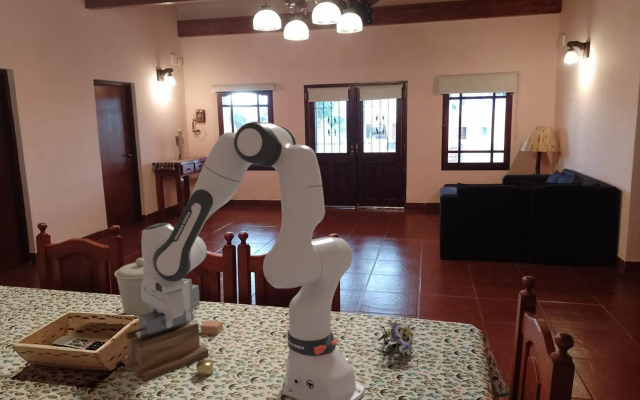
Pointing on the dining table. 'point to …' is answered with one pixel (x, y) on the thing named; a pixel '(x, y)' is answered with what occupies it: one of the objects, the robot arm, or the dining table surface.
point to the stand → (163, 351)
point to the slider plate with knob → (158, 323)
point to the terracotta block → (211, 327)
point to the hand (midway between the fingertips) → (163, 323)
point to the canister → (132, 288)
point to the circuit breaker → (190, 297)
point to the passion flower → (398, 337)
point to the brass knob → (204, 368)
